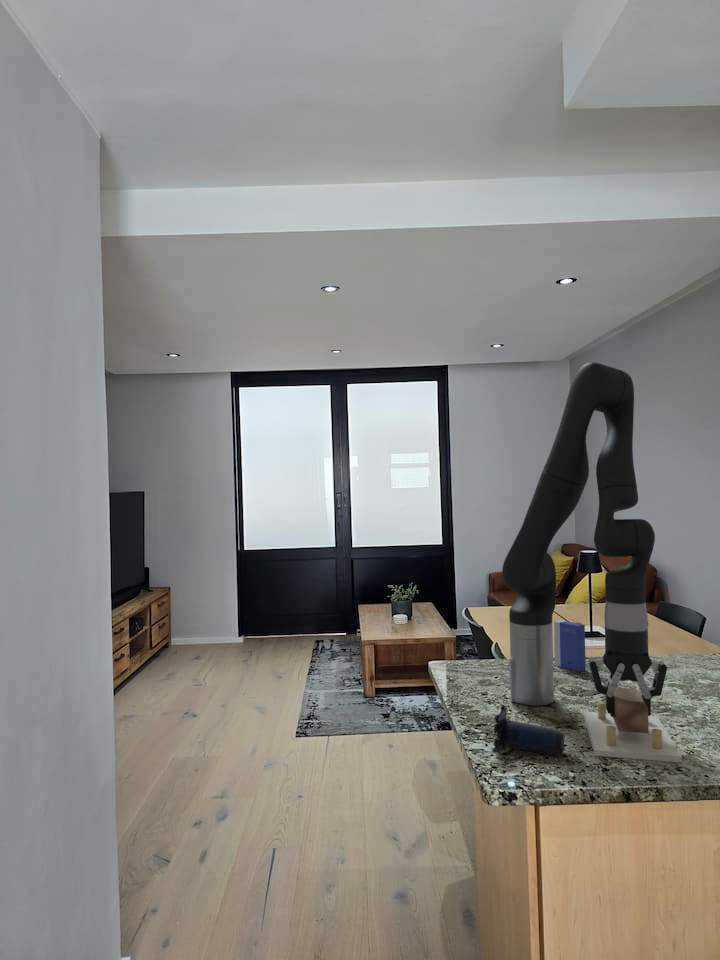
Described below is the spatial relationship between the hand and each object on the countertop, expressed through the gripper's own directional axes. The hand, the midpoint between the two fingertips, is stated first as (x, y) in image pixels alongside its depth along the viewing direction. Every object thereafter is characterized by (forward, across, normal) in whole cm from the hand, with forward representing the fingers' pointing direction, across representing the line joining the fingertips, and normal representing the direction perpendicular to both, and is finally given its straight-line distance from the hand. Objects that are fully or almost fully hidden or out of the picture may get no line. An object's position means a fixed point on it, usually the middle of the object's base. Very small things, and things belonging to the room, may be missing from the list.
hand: (628, 716), depth 122 cm
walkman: (+4, +7, -47) cm, 48 cm away
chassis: (+4, 0, 0) cm, 4 cm away
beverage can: (+4, +18, +10) cm, 21 cm away
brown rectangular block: (+1, 0, 0) cm, 1 cm away
